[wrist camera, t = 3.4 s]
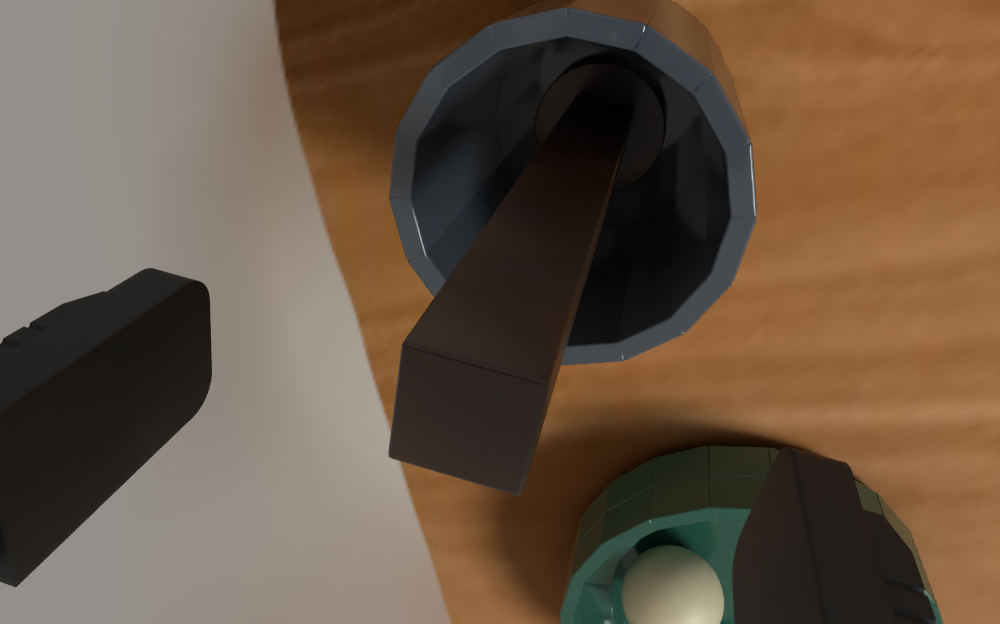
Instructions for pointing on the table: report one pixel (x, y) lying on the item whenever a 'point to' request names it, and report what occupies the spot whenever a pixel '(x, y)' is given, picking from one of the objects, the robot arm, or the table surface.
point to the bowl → (678, 525)
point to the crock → (631, 211)
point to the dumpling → (671, 588)
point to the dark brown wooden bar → (523, 283)
